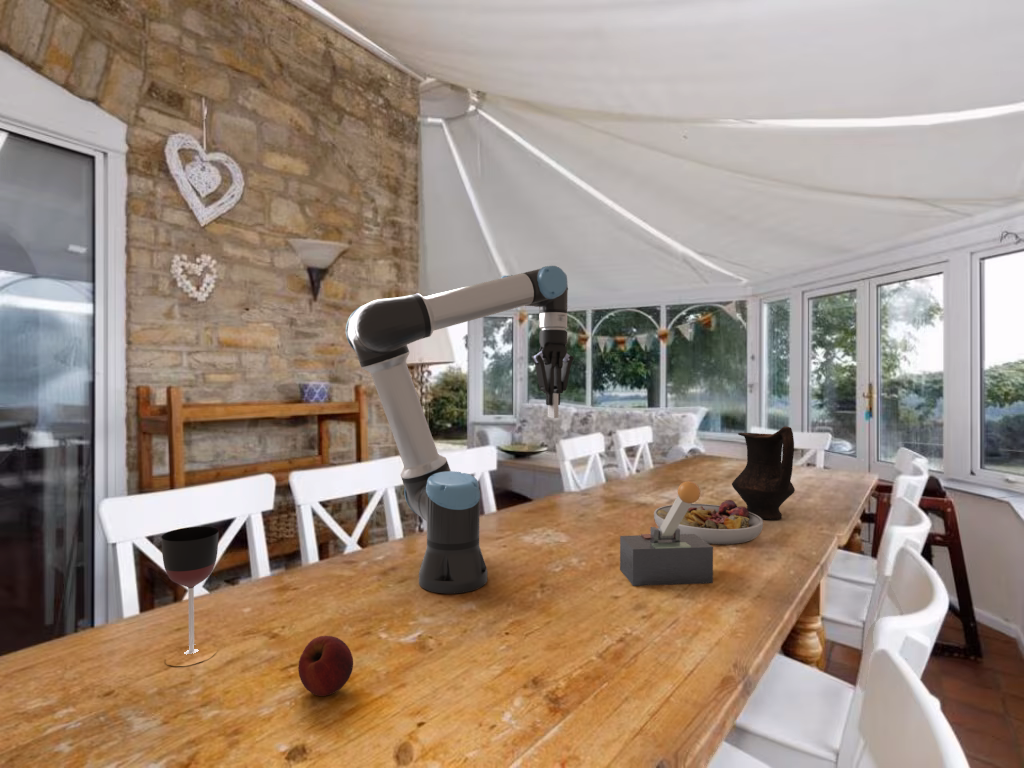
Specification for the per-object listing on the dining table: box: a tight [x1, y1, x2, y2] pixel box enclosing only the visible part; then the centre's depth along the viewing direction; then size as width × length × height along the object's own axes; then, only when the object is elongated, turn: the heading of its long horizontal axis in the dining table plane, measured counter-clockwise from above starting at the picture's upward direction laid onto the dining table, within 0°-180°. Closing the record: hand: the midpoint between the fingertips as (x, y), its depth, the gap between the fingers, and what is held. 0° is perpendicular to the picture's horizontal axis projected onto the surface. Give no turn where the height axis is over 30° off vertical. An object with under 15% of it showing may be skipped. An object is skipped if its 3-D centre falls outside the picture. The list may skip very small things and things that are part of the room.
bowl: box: [653, 499, 764, 545], centre depth 163 cm, size 30×30×8 cm
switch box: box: [619, 526, 714, 587], centre depth 127 cm, size 10×18×11 cm, turn 95°
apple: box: [297, 635, 354, 697], centre depth 81 cm, size 7×8×8 cm
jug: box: [731, 426, 796, 521], centre depth 178 cm, size 21×18×30 cm
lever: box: [656, 480, 701, 540], centre depth 119 cm, size 4×4×22 cm
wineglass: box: [161, 526, 219, 655], centre depth 91 cm, size 8×9×20 cm
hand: (553, 417), depth 150 cm, fingers closed
